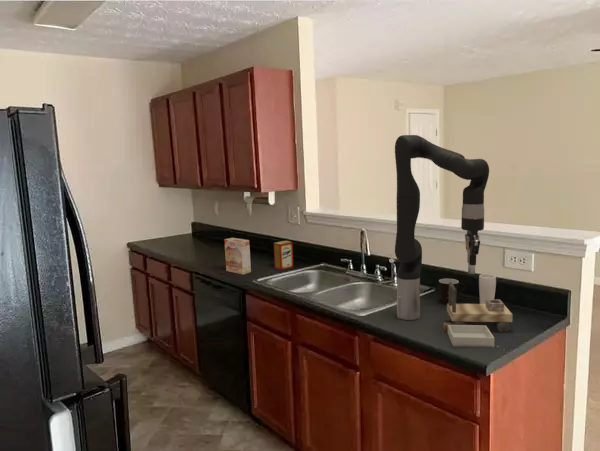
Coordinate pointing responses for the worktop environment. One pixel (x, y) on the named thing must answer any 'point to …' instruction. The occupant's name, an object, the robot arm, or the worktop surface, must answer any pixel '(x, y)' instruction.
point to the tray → (470, 336)
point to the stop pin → (470, 267)
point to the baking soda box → (283, 255)
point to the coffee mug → (445, 289)
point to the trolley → (479, 311)
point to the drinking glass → (487, 287)
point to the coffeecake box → (237, 255)
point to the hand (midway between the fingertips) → (471, 263)
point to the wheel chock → (446, 326)
